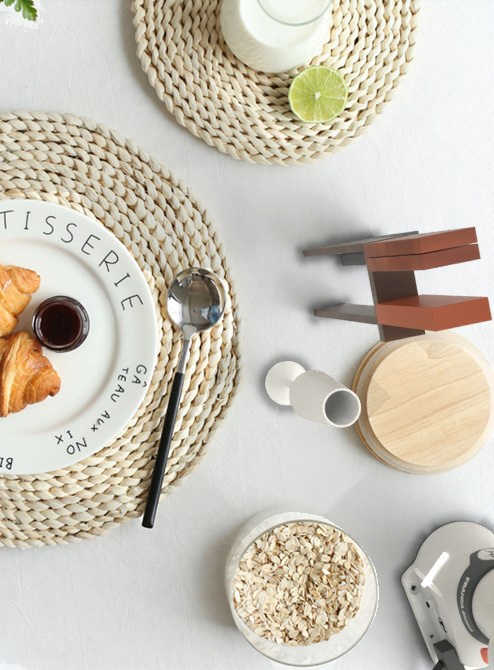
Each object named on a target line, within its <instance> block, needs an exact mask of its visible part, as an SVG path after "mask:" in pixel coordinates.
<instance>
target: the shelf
mask: <svg viewBox="0 0 494 670" xmlns="http://www.w3.org/2000/svg"><path fill="white" fill-rule="evenodd" d="M478 241H479V240H478V235H477V230H476V226H470V227H469V226H468V227H460V228H453V229H445V230H438V231H431V232H430V231H429V232H422V233H419V234H414V235H402V236H397V237H391V238H386V239H381V240H376V241H371V242H366V243H363V249H364V254H365V260H366V265H365V266H366V270H367V276H368V280H369V282H368V283H369V288H370V291H371V297H372V302H373V306H374V309H375V304H377V303H382V302H387V301H392V300H397V299H402V298H407V297H412V296H417V295H419V291H418V285H417V284H418V283H417V280H416V274H415V272H416V271H427V270H433V269H437V268H438V269H439V268H443V267H448V266H453V265H459V264H463V263H468V262H473V261H478V260H481V258H482V257H481V252H480V247H479V243H478ZM375 314H376V309H375ZM376 319H377V314H376ZM376 326H377V329H378V335H379V340H380V342H381V343H389V342H395V341H401V340H404V339H405V340H406V339H409V338H414V337H418V336H425V335H426V330H420V329H413V328H406V327H399V326H391V325H384V324H378V320H377V325H376Z"/></svg>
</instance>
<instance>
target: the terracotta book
mask: <svg viewBox="0 0 494 670" xmlns="http://www.w3.org/2000/svg"><path fill="white" fill-rule="evenodd" d="M375 309H376V314H377V320H378V324H384V325H391V326H399V327H406V328H413V329H420V330H425V331H429V332H435V333H436V332H442V331H446V330H451V329H456V328H460V327H461V328H462V327H466V326H470V325H475V324H481V323H485V322H489V321H490V322H491V321H492V320H493V317H492V312H491V305H490V300H489V297H488V296H473V295H472V296H471V295H451V294H450V295H447V294H418V295H417V296H412V297H407V298H402V299H397V300H392V301H387V302H382V303H377V304H375Z"/></svg>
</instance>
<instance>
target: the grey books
mask: <svg viewBox="0 0 494 670" xmlns="http://www.w3.org/2000/svg"><path fill="white" fill-rule="evenodd" d="M414 234H420V232H419V230H412V231H406V232H398V233H390V234H384V235H376V236H371V237H366V238H361V239H356V240H350V241H346V242H344V243H348V242H356V241H363V240H371V239H379V238H386V237H394V236H402V235H414ZM339 255H340V262H341V266H342V267H353V266H354V267H355V266H367V265H366V260H365V254H364V251H362V252H352V253H341V254H339Z"/></svg>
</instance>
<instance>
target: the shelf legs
mask: <svg viewBox="0 0 494 670" xmlns="http://www.w3.org/2000/svg"><path fill="white" fill-rule="evenodd" d="M394 237H397V236H394ZM386 238H391V237H386ZM386 238H379V239H371V240H363V241H356V242H350V241H347V242H348V243H345V242H340V243H333V244H328V245H323V246H317V247H314V248H308V249H304V250H302V255H303V258H308V257H318V256H329V255H340V254H341V253H352V252H362V251H364V249H363V243H366V242H371V241H376V240H381V239H386ZM313 313H314V317H317V318H323V319H324V318H325V319H331V320H339V321H346V322H354V323H358V324H359V323H361V324H367V325H375V326H378V325H377V319H376V314H375V309H374V305H371V304H359V303H346V302H345V303H339V304H335V305H330V306H325V307H320V308H315V309H313Z"/></svg>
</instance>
